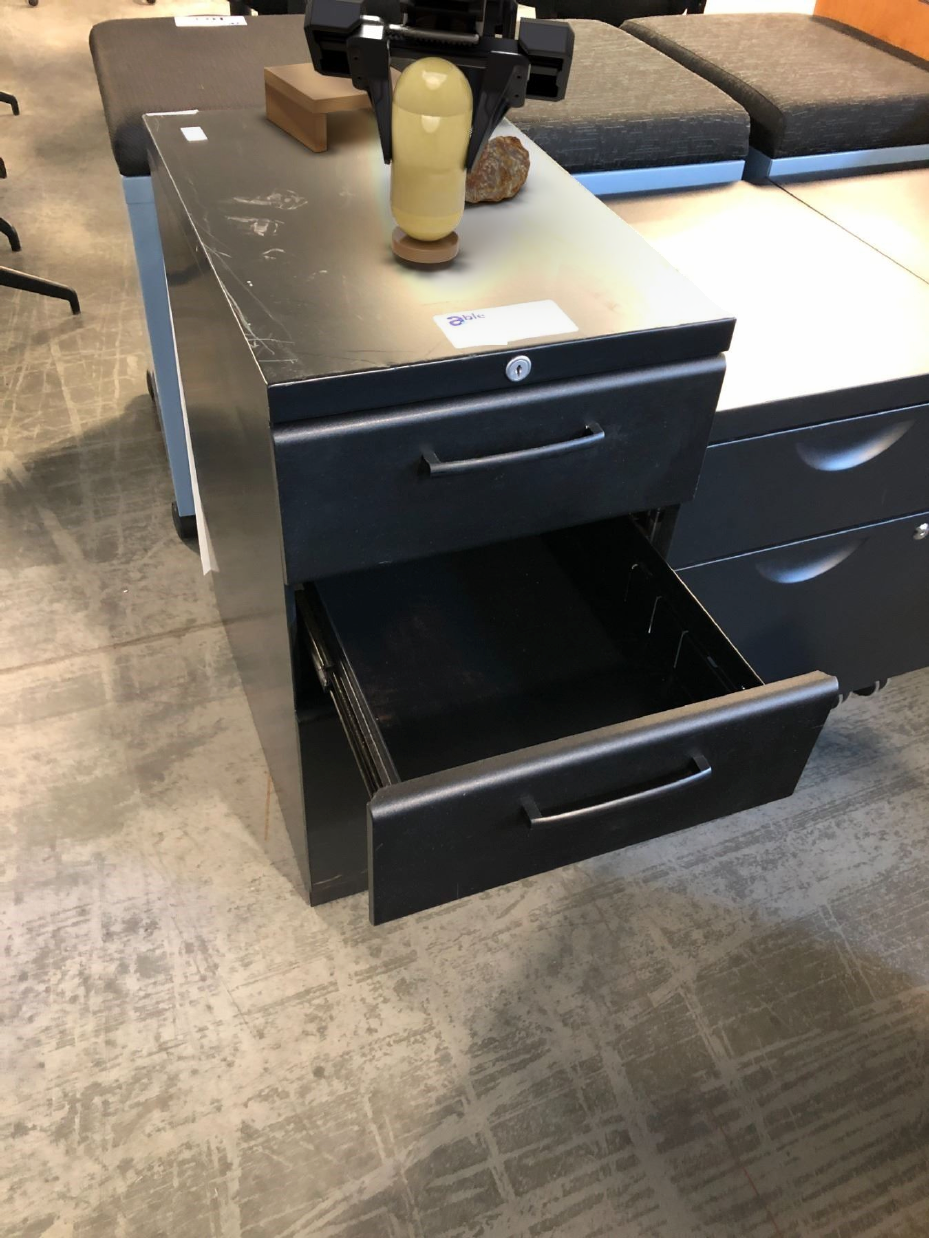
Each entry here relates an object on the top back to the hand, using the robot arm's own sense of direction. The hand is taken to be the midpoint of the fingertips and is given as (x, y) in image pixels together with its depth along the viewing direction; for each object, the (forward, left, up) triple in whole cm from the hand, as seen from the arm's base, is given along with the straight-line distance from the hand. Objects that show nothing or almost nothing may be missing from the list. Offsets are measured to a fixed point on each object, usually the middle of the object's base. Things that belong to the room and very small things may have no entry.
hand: (427, 166), depth 69 cm
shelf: (-10, -29, -7) cm, 32 cm away
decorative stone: (-12, -12, -8) cm, 18 cm away
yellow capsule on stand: (-1, -1, -7) cm, 7 cm away
